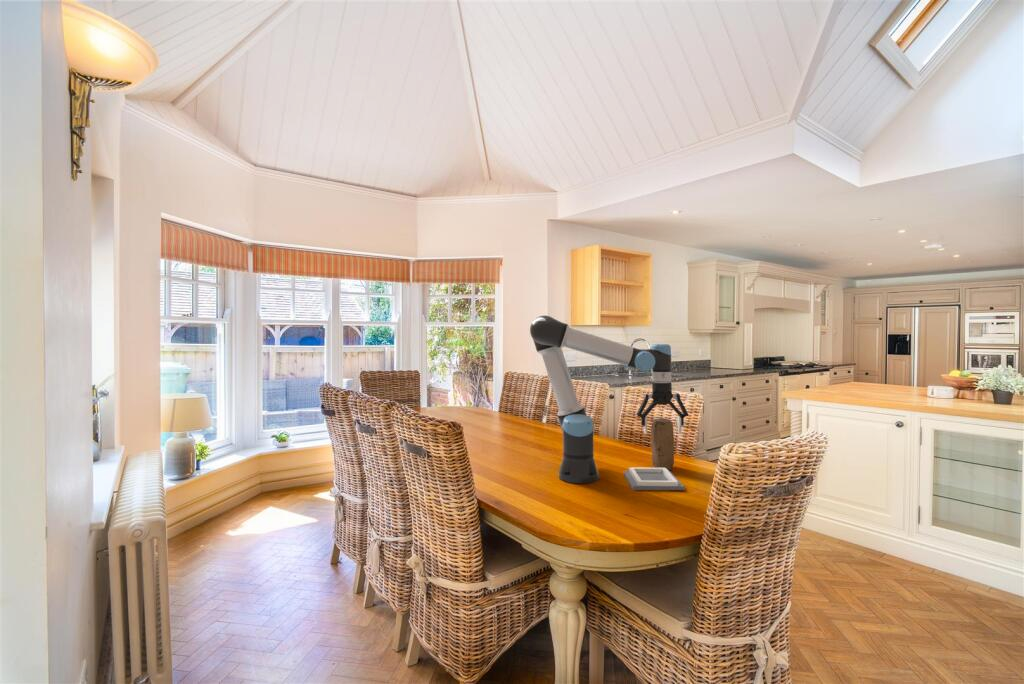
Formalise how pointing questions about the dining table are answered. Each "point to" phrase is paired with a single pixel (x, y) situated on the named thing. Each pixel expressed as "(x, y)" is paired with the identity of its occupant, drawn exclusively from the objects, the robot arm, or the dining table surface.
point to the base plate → (652, 479)
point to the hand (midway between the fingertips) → (662, 433)
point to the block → (662, 443)
